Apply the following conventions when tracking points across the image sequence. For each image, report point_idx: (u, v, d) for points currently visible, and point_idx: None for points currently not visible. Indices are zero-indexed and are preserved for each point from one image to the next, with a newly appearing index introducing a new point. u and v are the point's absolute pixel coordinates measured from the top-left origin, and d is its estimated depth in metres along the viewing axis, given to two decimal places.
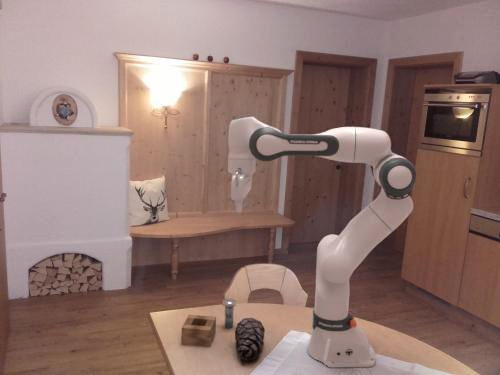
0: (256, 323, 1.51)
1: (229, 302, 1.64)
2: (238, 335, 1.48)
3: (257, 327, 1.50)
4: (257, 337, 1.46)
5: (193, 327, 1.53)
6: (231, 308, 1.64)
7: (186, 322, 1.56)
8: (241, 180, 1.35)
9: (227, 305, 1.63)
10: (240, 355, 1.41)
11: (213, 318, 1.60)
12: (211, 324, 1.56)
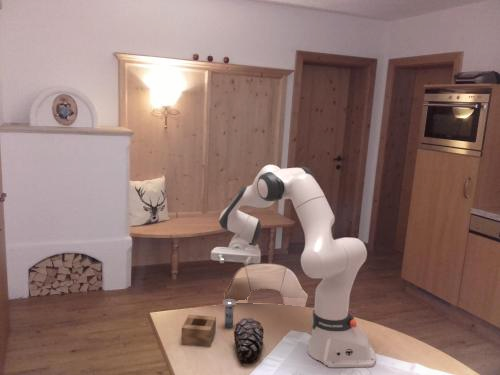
0: (255, 323, 1.51)
1: (229, 302, 1.64)
2: (237, 336, 1.47)
3: (256, 327, 1.49)
4: (256, 337, 1.46)
5: (193, 327, 1.53)
6: (231, 308, 1.64)
7: (186, 322, 1.56)
8: None
9: (227, 305, 1.63)
10: (240, 356, 1.41)
11: (213, 318, 1.60)
12: (211, 324, 1.56)
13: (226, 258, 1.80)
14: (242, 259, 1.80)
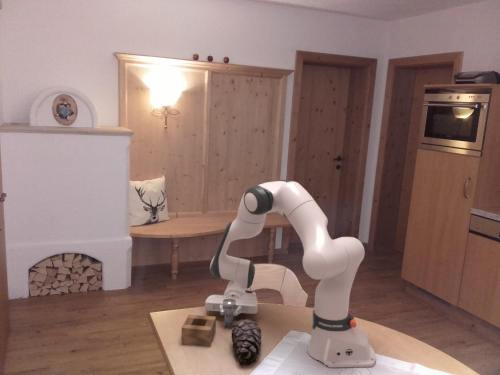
0: (253, 324, 1.50)
1: (229, 302, 1.64)
2: (235, 337, 1.46)
3: (254, 328, 1.49)
4: (255, 338, 1.45)
5: (193, 327, 1.53)
6: (231, 308, 1.64)
7: (186, 322, 1.56)
8: None
9: (227, 305, 1.63)
10: (239, 357, 1.40)
11: (213, 318, 1.60)
12: (211, 324, 1.56)
13: None
14: None
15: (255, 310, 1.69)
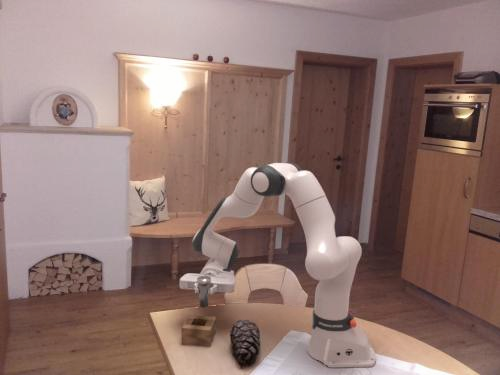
0: (251, 325, 1.50)
1: (204, 279, 1.55)
2: (234, 338, 1.46)
3: (253, 329, 1.48)
4: (254, 339, 1.45)
5: (193, 327, 1.53)
6: (206, 286, 1.55)
7: (186, 322, 1.56)
8: None
9: (201, 282, 1.54)
10: (239, 358, 1.40)
11: (213, 318, 1.60)
12: (211, 324, 1.56)
13: None
14: None
15: (232, 289, 1.59)
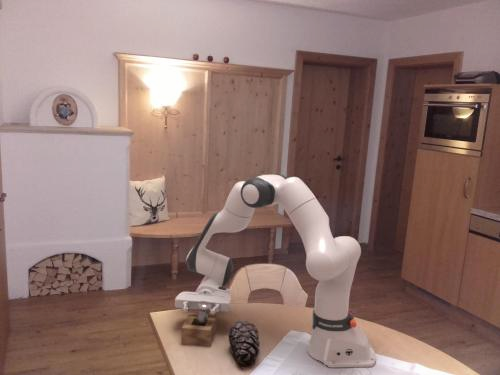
0: (250, 326, 1.49)
1: (204, 305, 1.55)
2: (234, 339, 1.45)
3: (252, 330, 1.48)
4: (253, 340, 1.44)
5: (193, 327, 1.53)
6: (205, 312, 1.55)
7: (186, 322, 1.56)
8: None
9: (201, 308, 1.53)
10: (239, 359, 1.39)
11: (213, 318, 1.60)
12: (211, 324, 1.56)
13: (192, 305, 1.61)
14: None
15: (227, 308, 1.59)
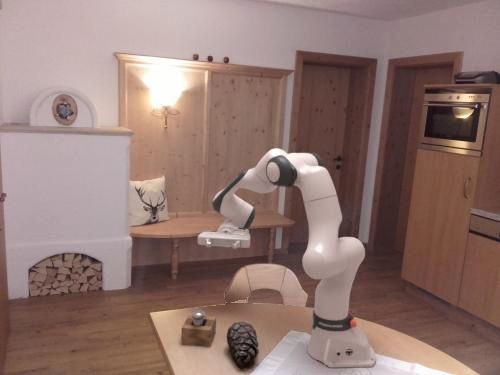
0: (248, 327, 1.49)
1: (197, 313, 1.55)
2: (232, 341, 1.44)
3: (250, 331, 1.47)
4: (252, 341, 1.44)
5: (193, 327, 1.53)
6: (199, 320, 1.54)
7: (186, 322, 1.56)
8: None
9: (194, 316, 1.54)
10: (238, 361, 1.38)
11: (213, 318, 1.60)
12: (211, 324, 1.56)
13: (214, 243, 1.71)
14: (230, 243, 1.70)
15: (247, 244, 1.69)
